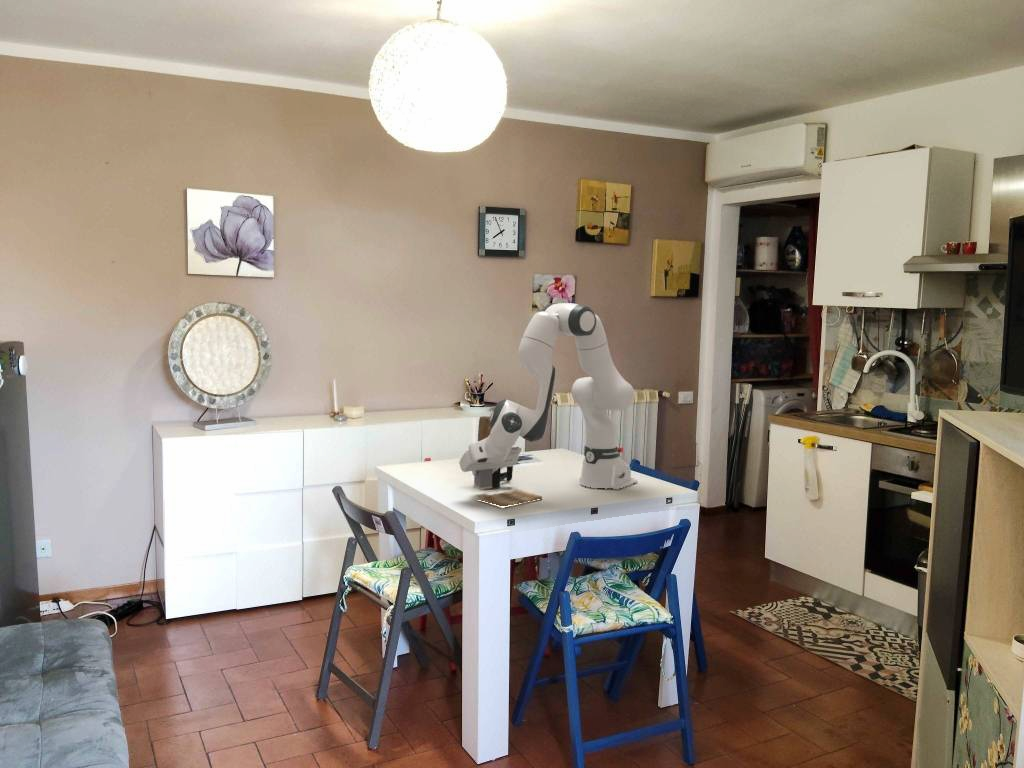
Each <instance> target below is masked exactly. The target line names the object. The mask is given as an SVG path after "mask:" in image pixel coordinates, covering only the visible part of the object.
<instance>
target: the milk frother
mask: <svg viewBox="0 0 1024 768" xmlns="http://www.w3.org/2000/svg"><path fill="white" fill-rule="evenodd" d="M513 469H514V466H510V467H506V471H504V472H501V468H499V469H497V470H495V471H494V473H492V488H489V489H488V490H494V489H498V488H500V487H501V482H502V481H504V480H505V479H506V481H507V482H510V481H512V479H513V473H514V472H513V471H514V470H513Z"/></svg>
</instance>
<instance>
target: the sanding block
mask: <svg viewBox="0 0 1024 768" xmlns="http://www.w3.org/2000/svg"><path fill="white" fill-rule="evenodd" d="M478 472H479V473H478V475H474V476H473V479H474V481H473V484H474V488H476V489H478V490H490V489H489V488H492V469H485V470H478Z"/></svg>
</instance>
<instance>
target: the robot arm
mask: <svg viewBox="0 0 1024 768" xmlns="http://www.w3.org/2000/svg"><path fill="white" fill-rule="evenodd" d="M560 335H561V336H573V338H574V341H575V342H574V343H575V347H576V351H577V356H578V357H577V358H578V360H579V365H580V368H581V369H582V370H583V372H584V373H586V374H588V376H584V377H580V378H577V379H576V380H575V381H574V382H573V384H572V387H571V396H572V399H573V401H574V402H575V403H576V404H577V406H578V407H579V408H580V410H581V413H582V415H583V418H584V424H585V445H584V448H583V455H584V459H583V461H582V466H581V467H582V468H581V474H580V477H579V478H578V479H579V480H580V481H579V484H580V485H581V486H582V485H583V486H582V487H585V486H586V487H585V488H590V487H591V488H592V489H597V488H605V489H606V490H608V489H607V488H613V489H612V490H620V489H619V488H622V487H624V488H626V487H625V486H627V487H629V486H628V485H630V484H632V485H634V484H633V483H635V484H637V483H638V480H637V479H636V478H634V477H632V470H631V467H630V465H629V464H628V463H627V462H625V461H624V460H623V459H622V458H621V457H620V453H621V454H623V453H624V451H625V448H624V447H623V446H617V435H618V433H617V431H618V430H617V428H618V427H617V424H616V423H615V422H614V421H613V420H612V418H611V417H610V416H609V413H608V411H626V410H629V408H630V407H632V405H633V403H634V402H635V399H636V398H635V397H636V394H635V389H634V387H633V386H632V384H631V383H629V382H628V381H627V380H625V379H624V377H623V376H622V375H621V374H620V372H619V370H618V369H617V367H616V366H615V363H614V361H613V359H612V356H611V352H610V349H609V348H610V347H609V343H608V338H607V335H606V330H605V329H604V326H603V323H602V320H601V318H600V317H599V316H598V315H597V314H596V313H595V311H594V310H593V309H592V308H591V307H589V306H587V305H586V304H585V305H584V304H578V303H574V302H572V303H571V302H566V303H565V302H559V303H558V302H552V303H548V304H546V305H545V306H544V307H543V308H542V309H541V310H540V311H538V312H536V313H535V314H534V315H533V316H532V318H531V320H530V321H529V323H528V325H527V326H526V328H525V331H524V332H523V335H522V337H521V340H520V343H519V347H518V350H517V354H518V359H519V361H520V362H521V364H522V366H524V368H526V370H527V371H529V373H531V374H532V375H533V376H534V377H535V379H537V381H538V384H539V393H538V398H537V401H536V406H535V407H536V408H535V409H532V408H529V407H526V406H524V405H521V404H519V403H517V402H514V401H512V400H509V399H505V398H504V399H502V400H500V401H498V402H497V403H496V405H495V407H494V409H493V410H492V412H491V414H490V419H489V424H490V428H491V429H492V430H491V432H490V435H489V436H488V437H487V438H485V439H483V440H481V441H478V440H477V441H475V442H472V443H470V444H469V445H468V449H467V450H465V452H464V453H463V455H461V458H460V460H459V463H458V464H459V467H460V470H461V471H462V472H463V473H465V472H467V473H468V472H471V473H472V475H473V477H474V475H478V473H479V472H478V470H485V469H492V473H494V471H495V470H497V469H499V468H507V467H510V466H513V467H514V466H515V465H516V464H517V462H518V459H519V456H520V454H521V452H522V448H521V447H519V446H515V444H516V442H517V441H518V439H519V437H521V438H522V439H524V440H525V441H528V442H530V443H533V442H537V441H539V440H541V439H543V437H544V436H545V434H546V431H547V427H548V418H549V411H550V407H551V401H552V397H553V390H554V386H555V385H554V384H555V378H556V367H555V366H554V365H553V363H552V362H553V361H552V354H553V350H554V348H555V345H556V342H557V339H558V337H559V336H560ZM630 486H631V485H630ZM591 488H590V489H591ZM605 489H604V490H605ZM622 489H623V488H622Z"/></svg>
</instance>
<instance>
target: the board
mask: <svg viewBox="0 0 1024 768" xmlns="http://www.w3.org/2000/svg"><path fill="white" fill-rule="evenodd" d="M541 498H542V499H543V496H542V495H539V494H534V493H531V492H528V491H523V490H521V489H514V490H509V491H505V492H500V493H495V494H490V495H486V496H480V497H477V501H478V500H481V501H485V502H488V503H492V504H496V505H499V506H508V505H514V504H519V503H524V502H528V501H533V500H537V499H541Z"/></svg>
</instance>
